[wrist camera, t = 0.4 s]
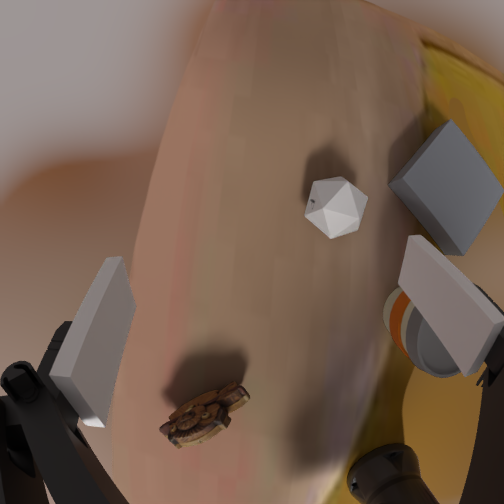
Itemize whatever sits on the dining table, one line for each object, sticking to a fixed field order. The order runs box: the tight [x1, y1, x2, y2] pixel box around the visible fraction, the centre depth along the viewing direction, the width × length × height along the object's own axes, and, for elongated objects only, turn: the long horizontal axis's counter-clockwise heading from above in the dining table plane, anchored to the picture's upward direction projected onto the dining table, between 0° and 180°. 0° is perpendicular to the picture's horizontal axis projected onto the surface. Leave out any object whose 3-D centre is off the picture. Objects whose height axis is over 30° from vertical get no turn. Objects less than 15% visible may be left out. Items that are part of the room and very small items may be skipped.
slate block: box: [388, 119, 504, 256], centre depth 43 cm, size 16×16×6 cm
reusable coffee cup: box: [383, 287, 461, 378], centre depth 39 cm, size 12×13×15 cm
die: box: [304, 176, 368, 239], centre depth 42 cm, size 8×9×10 cm
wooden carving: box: [159, 381, 250, 449], centre depth 42 cm, size 16×5×10 cm, turn 128°
